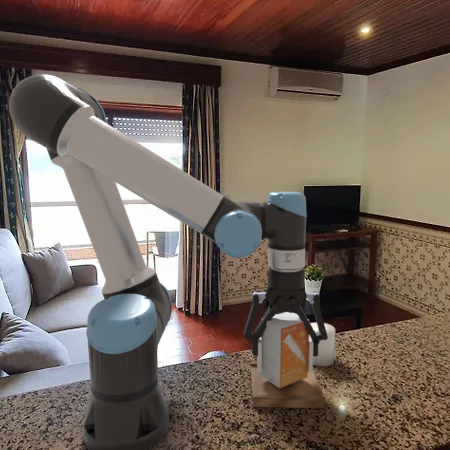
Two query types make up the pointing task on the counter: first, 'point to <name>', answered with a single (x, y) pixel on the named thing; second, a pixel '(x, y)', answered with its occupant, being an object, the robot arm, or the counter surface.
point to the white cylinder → (325, 347)
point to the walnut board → (286, 392)
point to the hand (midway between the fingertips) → (284, 369)
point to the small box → (285, 350)
